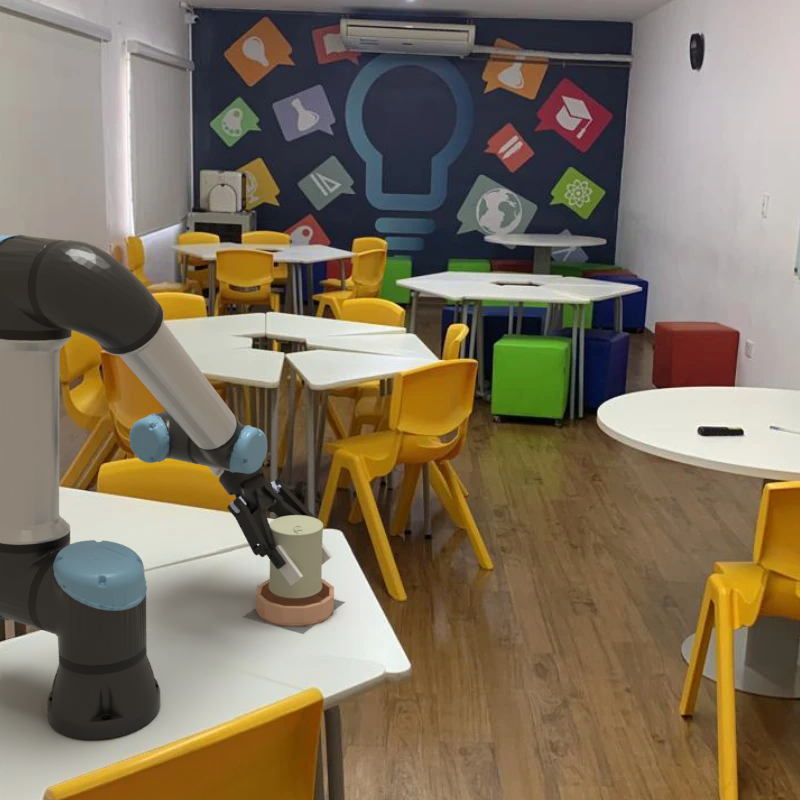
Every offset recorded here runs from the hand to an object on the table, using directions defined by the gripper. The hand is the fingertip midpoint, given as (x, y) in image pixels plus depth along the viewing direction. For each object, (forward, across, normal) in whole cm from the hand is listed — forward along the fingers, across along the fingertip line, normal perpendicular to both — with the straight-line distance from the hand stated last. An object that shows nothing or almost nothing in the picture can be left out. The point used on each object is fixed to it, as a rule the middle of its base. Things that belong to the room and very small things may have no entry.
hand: (312, 570), depth 166 cm
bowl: (+3, 0, +8) cm, 8 cm away
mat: (+4, 0, +8) cm, 9 cm away
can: (+1, 0, +5) cm, 5 cm away
